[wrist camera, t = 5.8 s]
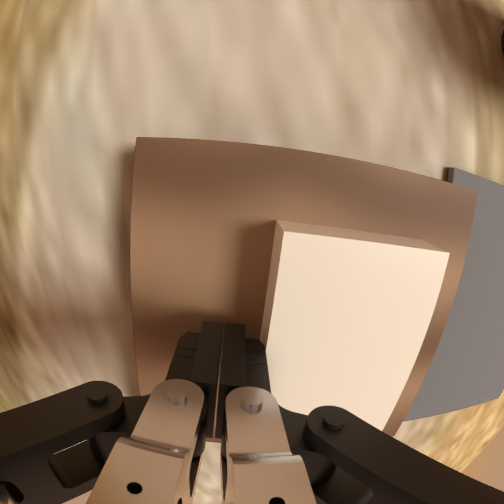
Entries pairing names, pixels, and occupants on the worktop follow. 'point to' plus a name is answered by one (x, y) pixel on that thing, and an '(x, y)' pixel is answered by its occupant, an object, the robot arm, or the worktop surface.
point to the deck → (265, 236)
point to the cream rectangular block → (346, 316)
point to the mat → (471, 315)
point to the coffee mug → (502, 42)
